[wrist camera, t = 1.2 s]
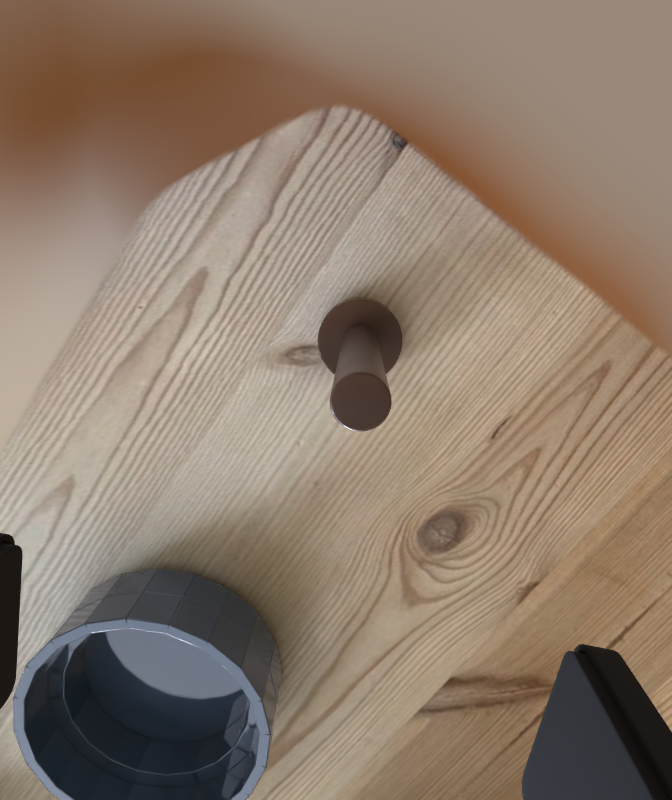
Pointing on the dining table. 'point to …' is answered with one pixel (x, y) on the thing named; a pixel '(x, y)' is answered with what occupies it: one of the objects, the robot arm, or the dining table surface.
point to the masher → (360, 360)
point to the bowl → (151, 693)
